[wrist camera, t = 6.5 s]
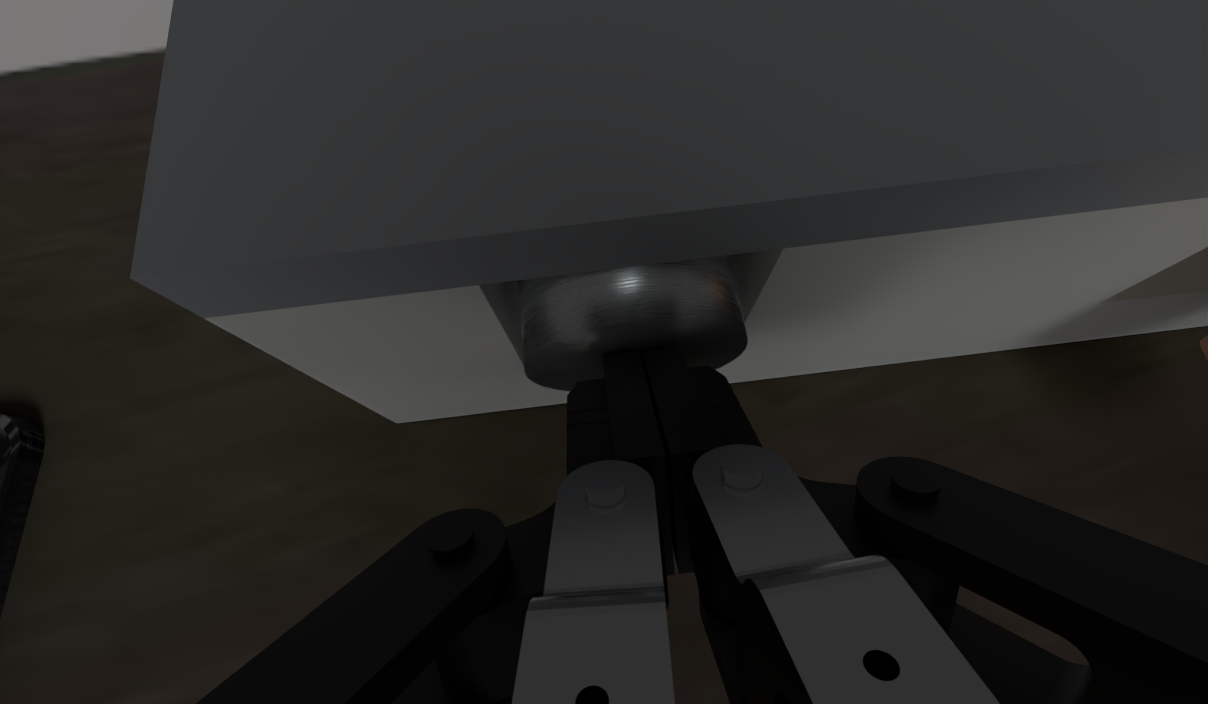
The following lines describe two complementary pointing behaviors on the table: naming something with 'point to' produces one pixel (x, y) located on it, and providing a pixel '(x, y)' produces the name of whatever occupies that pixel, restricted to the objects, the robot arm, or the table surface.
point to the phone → (16, 487)
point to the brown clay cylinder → (1204, 346)
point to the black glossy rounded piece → (629, 317)
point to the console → (675, 176)
